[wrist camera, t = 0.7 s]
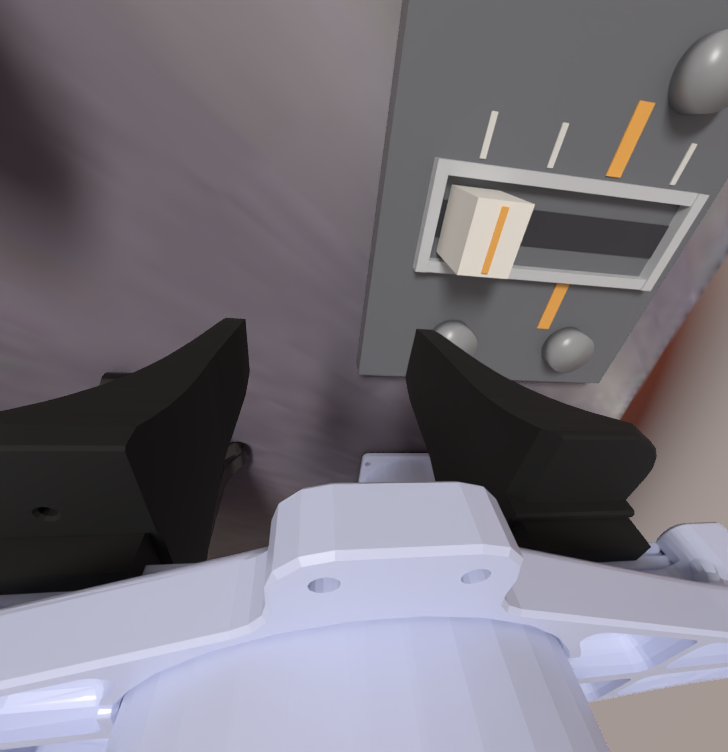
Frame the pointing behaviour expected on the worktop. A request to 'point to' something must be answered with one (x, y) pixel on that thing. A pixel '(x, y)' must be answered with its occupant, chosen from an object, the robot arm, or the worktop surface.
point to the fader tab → (482, 231)
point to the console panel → (545, 173)
